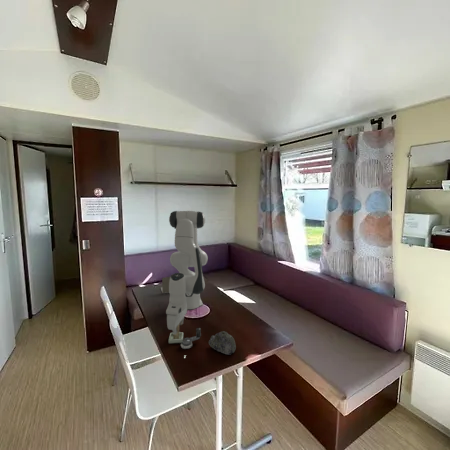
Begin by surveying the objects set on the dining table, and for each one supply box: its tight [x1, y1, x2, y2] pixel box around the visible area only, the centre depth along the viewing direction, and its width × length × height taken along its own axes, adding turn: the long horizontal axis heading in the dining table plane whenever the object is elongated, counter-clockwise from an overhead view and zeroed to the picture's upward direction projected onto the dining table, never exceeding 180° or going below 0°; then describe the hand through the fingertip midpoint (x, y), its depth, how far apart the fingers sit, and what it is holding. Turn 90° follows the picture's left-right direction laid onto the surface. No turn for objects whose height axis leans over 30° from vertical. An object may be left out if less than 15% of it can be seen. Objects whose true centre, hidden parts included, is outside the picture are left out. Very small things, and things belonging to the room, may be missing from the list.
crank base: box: [180, 341, 193, 359], centre depth 129 cm, size 14×6×1 cm, turn 4°
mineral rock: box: [208, 330, 237, 356], centre depth 129 cm, size 13×11×10 cm
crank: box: [182, 327, 202, 346], centre depth 134 cm, size 10×4×6 cm, turn 124°
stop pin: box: [173, 324, 180, 339], centre depth 137 cm, size 3×3×9 cm
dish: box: [168, 331, 184, 344], centre depth 138 cm, size 7×7×2 cm
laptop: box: [160, 276, 171, 294], centre depth 211 cm, size 18×12×13 cm
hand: (178, 328), depth 137 cm, fingers open, 8 cm apart
